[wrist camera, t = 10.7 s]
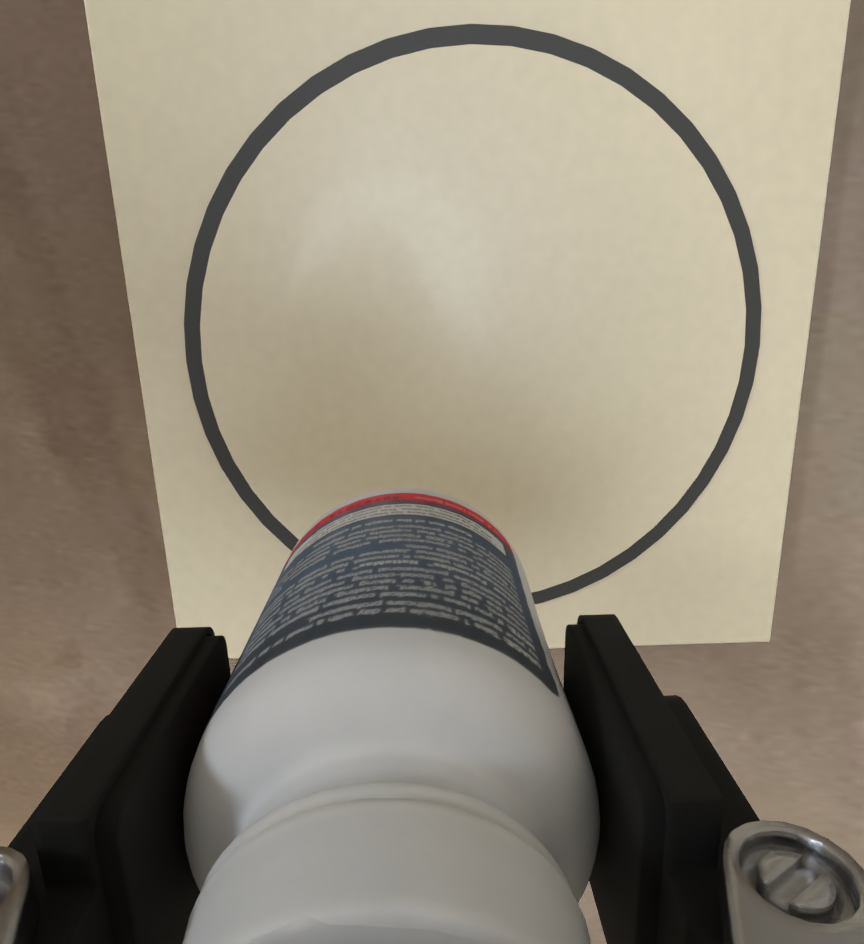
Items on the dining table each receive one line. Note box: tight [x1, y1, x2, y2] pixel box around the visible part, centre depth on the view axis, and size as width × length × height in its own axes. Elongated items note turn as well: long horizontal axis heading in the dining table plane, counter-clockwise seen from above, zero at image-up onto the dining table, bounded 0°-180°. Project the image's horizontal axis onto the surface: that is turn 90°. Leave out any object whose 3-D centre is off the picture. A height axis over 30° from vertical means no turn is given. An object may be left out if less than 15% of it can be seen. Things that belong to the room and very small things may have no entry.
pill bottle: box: [182, 488, 600, 944], centre depth 10 cm, size 5×5×9 cm
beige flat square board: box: [84, 0, 851, 658], centre depth 20 cm, size 20×20×1 cm
